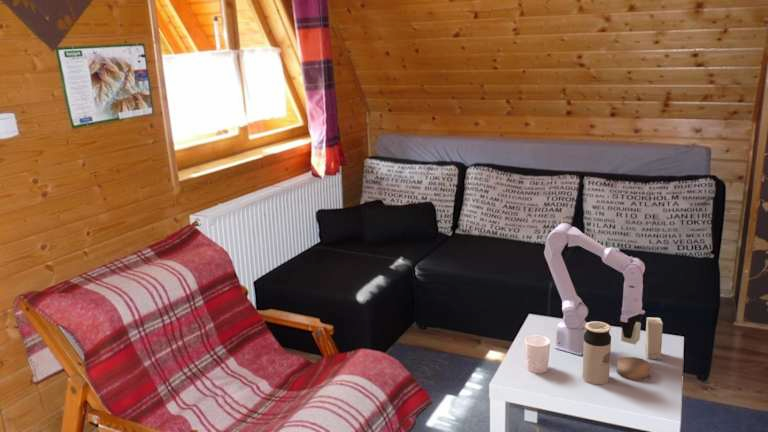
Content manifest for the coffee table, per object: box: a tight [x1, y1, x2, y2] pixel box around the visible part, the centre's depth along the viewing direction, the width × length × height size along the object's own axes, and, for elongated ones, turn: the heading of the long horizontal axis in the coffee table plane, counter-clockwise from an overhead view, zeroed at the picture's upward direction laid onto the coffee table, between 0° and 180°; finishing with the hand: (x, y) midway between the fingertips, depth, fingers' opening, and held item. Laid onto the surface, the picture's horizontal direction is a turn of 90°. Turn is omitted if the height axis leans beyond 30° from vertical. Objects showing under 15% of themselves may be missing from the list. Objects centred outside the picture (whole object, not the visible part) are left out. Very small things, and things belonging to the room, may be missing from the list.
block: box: [620, 321, 642, 345], centre depth 210 cm, size 4×4×6 cm
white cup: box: [524, 334, 551, 374], centre depth 208 cm, size 8×8×10 cm
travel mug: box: [581, 320, 612, 385], centre depth 199 cm, size 8×8×18 cm
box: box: [644, 316, 664, 360], centre depth 212 cm, size 5×4×13 cm
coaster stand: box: [616, 356, 652, 382], centre depth 203 cm, size 10×10×3 cm
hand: (630, 334), depth 210 cm, fingers closed on block, 4 cm apart
